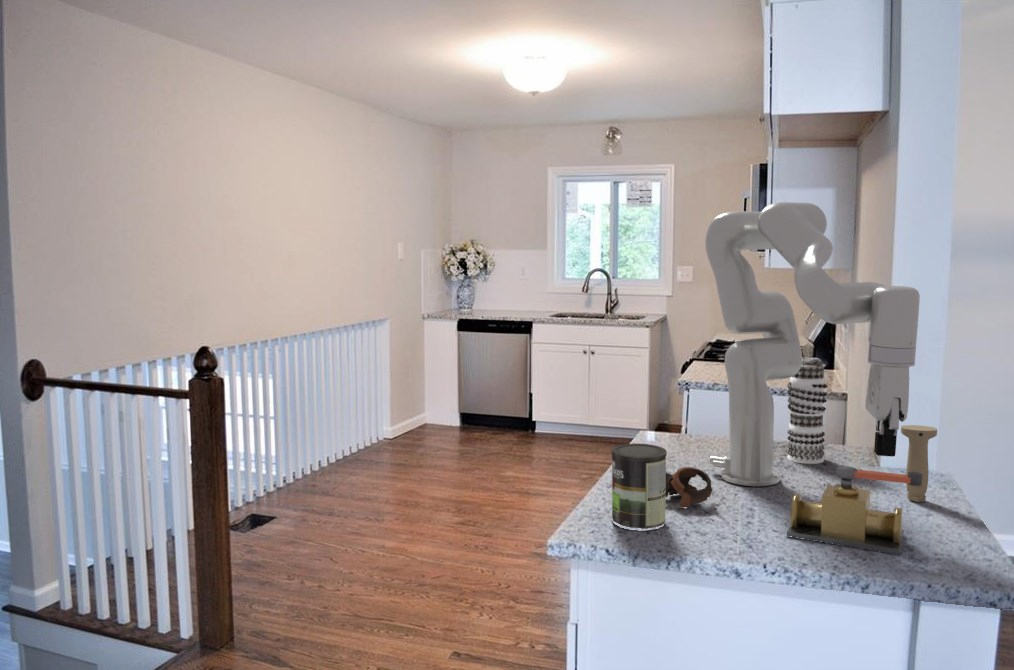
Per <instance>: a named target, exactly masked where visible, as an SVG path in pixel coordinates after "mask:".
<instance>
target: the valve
mask: <svg viewBox="0 0 1014 670" xmlns="http://www.w3.org/2000/svg"><path fill="white" fill-rule="evenodd" d="M870 497H871V490H869V489H863V488H859V487H858V486H856V485H853V479H844V478H840V483H839V484H838V483H837V484H834V485H831V484H828V485H827V486H826V488H825V489H824V491H823V493H822V495H821V502H818V501H817V502H816V501H810V500H803V497H802V495H801V494H799V493H794V494H793V496H792V498H791V503H790V511H789V513H790V514H789V515H790V516H789V517H790V519H789V521H790V526H789V527H788V529H787V530H786V537H787V536H792V537H798V538H804V539H809V540H817V541H822V542H827V543H833V544H839V545H838V546H840V545H843V546H842V547H846V546H849V547H848V548H852V547H855V548H854V549H858V548H863V549H862V550H864V549H867V550H866V551H870V550H874V551H873V552H876V551H880V552H879V553H883V552H886V553H885V554H889V553H893V554H892V555H895V554H898V555H897V556H901V551H902V546H903V545H902V544H903V541H904V531H905V530H903V508H901V507H895V508H894V512H889V511H879V510H875V509H874V510H873V509H870V504H871V503H870V500H871V499H870ZM809 540H808V541H809ZM827 543H826V544H827ZM833 544H832V545H833Z"/></svg>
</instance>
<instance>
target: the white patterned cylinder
mask: <svg viewBox="0 0 1014 670" xmlns="http://www.w3.org/2000/svg"><path fill="white" fill-rule="evenodd" d="M825 367H826V364H824V363H823V361H822V359H821V358H817V357H811V356H810V357H808V356H806V357H803V356H802V364H801V368H800V370H799V371H798V373H797V374H796V375H794V376H792V377H790V378H789V382H788V383H787V384H786V386H787V388H788V389H787V392H786V393H787V395H788V396H789V397H788V398H787V402H788V404H787V409H788V411H787V412H788V413H789V415H790V416H789V423H788V428H789V429H788V430H787V434H788V436H787V440H788V442H787V445H786V447H787V451H786V453H787V454H788V455H787V458H786V459H787V460H789V461H790V462H793V463H798V464H806V465H807V464H808V465H813V464H814V465H815V464H821V463H824V462H825V458H824V456H825V451H824V450H825V449H826V448H825V444H823V443H824V442H825V438H824V437H825V435H826V434H825V432H824V415H825V414H826V410H827V408H826V407H825V406H824V405H823V404H825V403H826V402H828V401H827V399H825V397H826V396H828V393H827V392H825V391H824V389H826V388H828V385H827V384H826V381H825V380H826V378H825Z"/></svg>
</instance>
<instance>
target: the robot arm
mask: <svg viewBox="0 0 1014 670" xmlns="http://www.w3.org/2000/svg"><path fill="white" fill-rule="evenodd" d="M827 224H828V223H827V217H826V215H825V213H824V211H823V210H822V208H821V207H819V206H818V205H815V204H814V203H811V202H787V201H784V202H783V201H782V202H774V203H771V204H770V205H768V206H765V207H764V208H763V209H762V211H750V210H747V211H745V210H743V211H742V210H739V211H736V210H735V211H728V212H724V213H721V214H719V215H717V216H715V218H714V219H712V220H711V222H710V223H709V226H708V228H707V231H706V235H705V241H704V242H705V252H706V256H707V259H708V262H709V265H710V267H711V269H712V273H713V274H714V278H715V282H716V290H717V295H718V298H719V303H720V309H721V314H722V318H723V322H724V325H725V327H726V329H727V330H728V332H730V333H732V334H735V335H736V334H737V335H750V334H751V335H752V334H754V335H755V334H762V338H761V337H759V338H749V339H748V338H747V339H742V340H739V341H736V342H734V343H732V344H731V345H730V346H729V347H728V348H727V350H726V352H725V356H724V366H725V373H726V376H727V378H726V379H727V382H728V383H727V384H728V456H724V457H720V456H713V455H711V456H710V458H709V464H710V465H712V467H715V468H716V467H717V468H722V469H723V470H722V471H721V474H720V476H721V479H722V480H724V481H725V482H728V483H731V484H734V485H740V486H745V487H746V486H747V487H769V486H774V485H777V484H778V483H779V482H780V481H781V476H780V474H779V473H778V472H777V471H775V470H774V469H773V468H774V427H775V426H774V423H775V422H774V420H775V417H774V416H775V409H774V408H775V406H774V405H775V403H774V397H773V394H772V393H771V391H770V389H769V387H768V385H767V382H768V381H769V382H770V381H775V380H783V379H784V380H785V379H790V377H792V376H794V375H796V374H797V373H798V371H799V370H800V368H801V364H802V357H803V354H802V347H801V343H800V338H799V332H798V327H797V323H796V318H795V314H794V311H793V308H792V305H791V303H790V301H789V300H788V299H787V297H786V296H785V295H784V294H782V293H781V292H778V291H775V290H760V289H759V287H758V285H757V280H756V277H755V272H754V269H753V267H752V266H751V264H750V262H749V261H748V259H746V257H745V256H744V255H743V254H742V253H741V252H742V250H745V251H746V250H747V251H748V250H749V251H752V250H753V251H755V250H757V251H758V250H775V251H777V252H778V254H779V255H780V256H781V257H782V258H783V260H786V262H787V263H788V264H789V266H791V267H792V268H793V270H794V272H793V278H794V285H795V289H796V291H797V294H798V296H799V298H800V299H801V300H802V302H803V303H804V304H805V305H806V306H807V307H808V308H809V310H811V311H812V312H813V313H814V314H815V315H816V316H817V317H818V318H819V319H821V320H823V321H824V322H825V323H829V324H832V325H844V324H845V325H846V324H864V323H870V325H869V338H868V339H869V341H868V343H869V344H868V352H867V353H868V355H867V363H869V364H870V368H869V373H868V380H867V390H866V399H865V409H866V411H867V412H868V414H870V415H871V416H872V418H873V417H874V418H873V419H875V431H874V432H875V433H874V445H873V446H874V448H873V452H874V454H875V455H876V456H878V457H896V451H897V438H898V437H897V435H898V430H899V428H900V422H901V423H903V422H905V421H906V420H907V418H908V413H909V412H908V411H909V401H910V400H909V397H910V368H912V367H914V366H915V365H916V353H917V339H918V338H917V337H918V326H919V313H920V312H919V311H920V302H921V301H920V292H919V290H917V289H916V288H914V287H912V286H911V287H910V286H905V285H904V286H901V285H886V284H883V283H879V282H872V281H871V282H869V281H868V282H867V281H866V282H865V281H864V282H857V281H856V282H840V283H838V282H837V281H835V280H834V279H833V278H832V277H831V276H830V275H829V274H828V273H827V272H826V271H825V270H824V269H823V267H824V266H825V265H826V264H827V263H828V262H829V260H830V258H831V256H832V254H833V251H834V250H833V249H834V248H833V243H832V241H831V240H830V239H829V238H828V237H826V235H825V233H826V231H827V230H826V229H827Z"/></svg>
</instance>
